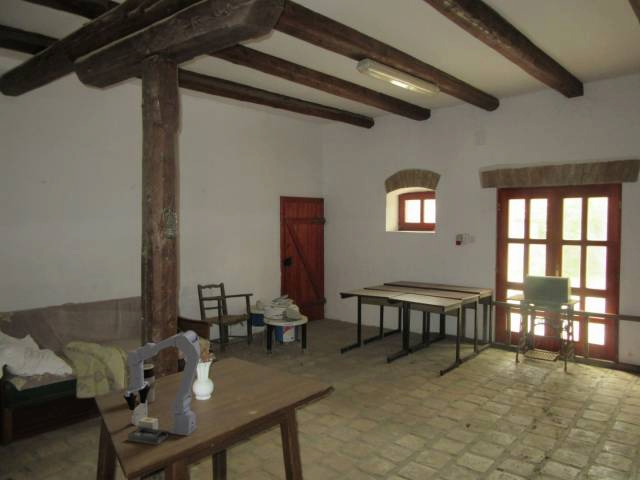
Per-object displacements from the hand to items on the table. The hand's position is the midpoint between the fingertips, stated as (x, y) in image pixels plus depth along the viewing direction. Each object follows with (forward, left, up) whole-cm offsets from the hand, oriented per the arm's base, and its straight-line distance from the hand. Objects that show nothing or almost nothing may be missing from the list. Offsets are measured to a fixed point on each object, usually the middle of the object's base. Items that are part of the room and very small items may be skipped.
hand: (137, 406), depth 213 cm
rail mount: (-11, +8, -10) cm, 16 cm away
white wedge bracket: (+3, -5, -10) cm, 11 cm away
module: (-6, +1, -10) cm, 12 cm away
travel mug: (+15, -27, -10) cm, 32 cm away
